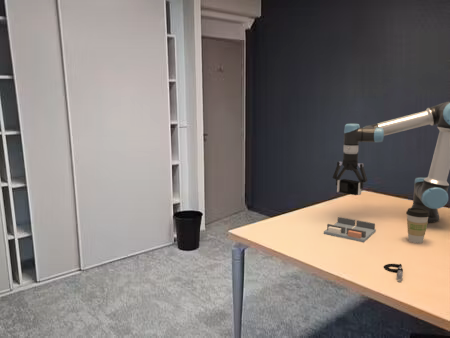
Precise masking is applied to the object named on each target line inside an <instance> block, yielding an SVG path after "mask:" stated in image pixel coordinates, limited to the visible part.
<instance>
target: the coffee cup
mask: <svg viewBox="0 0 450 338" xmlns="http://www.w3.org/2000/svg"><path fill="white" fill-rule="evenodd" d="M429 216H430V214H429V212H428V210H426V209H422V208H411V207H409V208H408V209H407V210H406V225H407V226H406V227H407V234H408V235H407V239H408V241H409V242H411V243H414V244H422V243H423V242H424V238H425V235H426V232H427V226H428V223H429V222H428V217H429Z"/></svg>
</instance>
